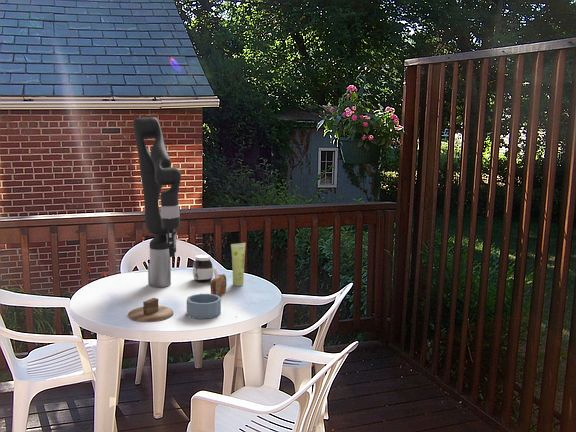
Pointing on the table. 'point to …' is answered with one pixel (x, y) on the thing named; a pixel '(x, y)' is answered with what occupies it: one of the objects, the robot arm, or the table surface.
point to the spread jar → (203, 269)
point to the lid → (150, 312)
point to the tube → (238, 263)
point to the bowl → (203, 306)
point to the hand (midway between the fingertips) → (172, 254)
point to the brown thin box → (218, 285)
